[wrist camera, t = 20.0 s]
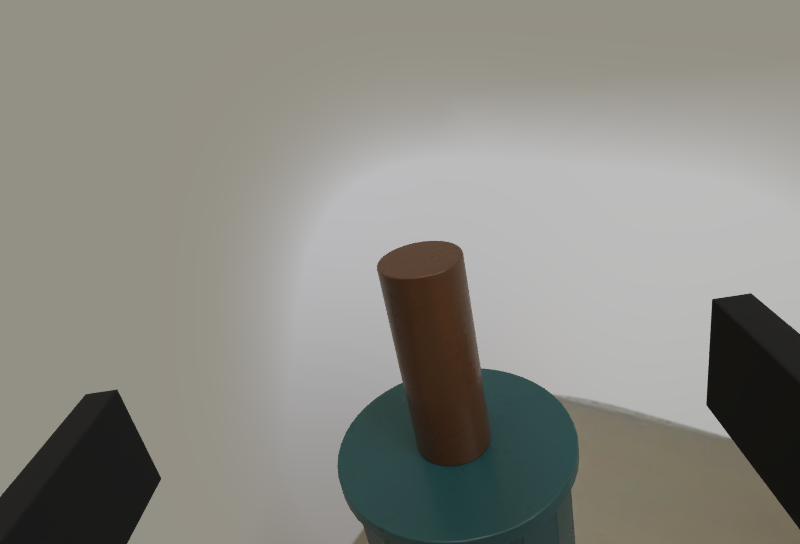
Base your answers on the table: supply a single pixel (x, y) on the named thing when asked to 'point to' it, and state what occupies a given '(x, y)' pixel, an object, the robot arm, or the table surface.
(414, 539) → the lid
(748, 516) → the table surface
